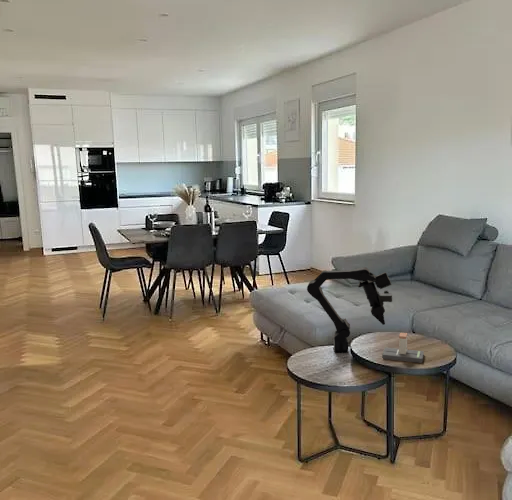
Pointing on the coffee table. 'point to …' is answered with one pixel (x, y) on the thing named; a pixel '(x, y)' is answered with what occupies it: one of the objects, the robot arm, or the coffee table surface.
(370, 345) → the coffee table surface
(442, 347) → the coffee table surface
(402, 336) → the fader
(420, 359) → the plate
